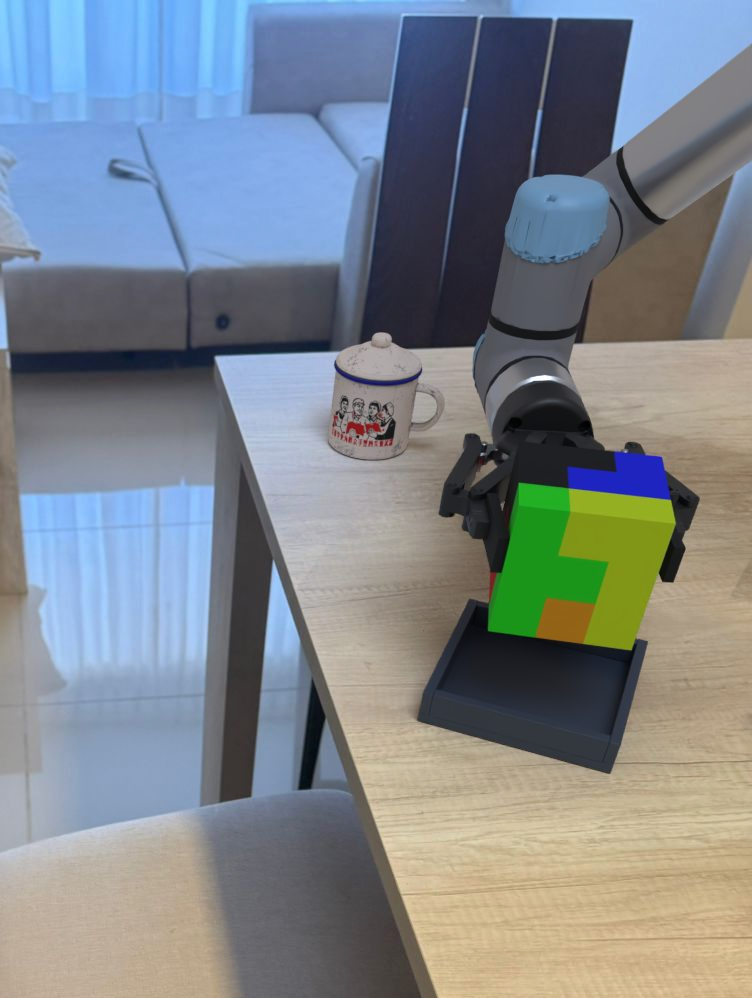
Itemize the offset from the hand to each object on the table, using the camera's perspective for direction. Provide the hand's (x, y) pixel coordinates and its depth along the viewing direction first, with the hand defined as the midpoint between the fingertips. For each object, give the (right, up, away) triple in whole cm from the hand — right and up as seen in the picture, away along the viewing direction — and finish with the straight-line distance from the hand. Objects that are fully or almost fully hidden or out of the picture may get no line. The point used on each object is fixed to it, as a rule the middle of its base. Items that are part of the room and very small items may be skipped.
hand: (586, 560), depth 79 cm
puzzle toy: (0, -2, +7) cm, 7 cm away
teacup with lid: (-5, +22, +46) cm, 51 cm away
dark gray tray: (0, -8, +13) cm, 15 cm away
